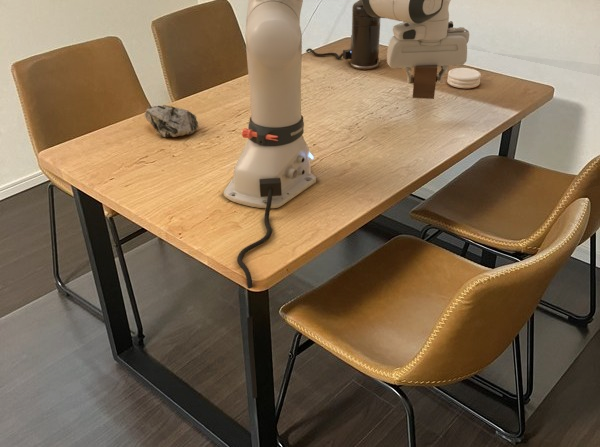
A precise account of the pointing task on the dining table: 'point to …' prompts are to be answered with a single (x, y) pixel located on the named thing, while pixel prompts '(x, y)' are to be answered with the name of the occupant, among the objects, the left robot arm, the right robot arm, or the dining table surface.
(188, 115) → the rock
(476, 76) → the coaster
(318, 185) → the dining table surface
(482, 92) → the dining table surface
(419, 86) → the bar
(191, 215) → the dining table surface
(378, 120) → the dining table surface
